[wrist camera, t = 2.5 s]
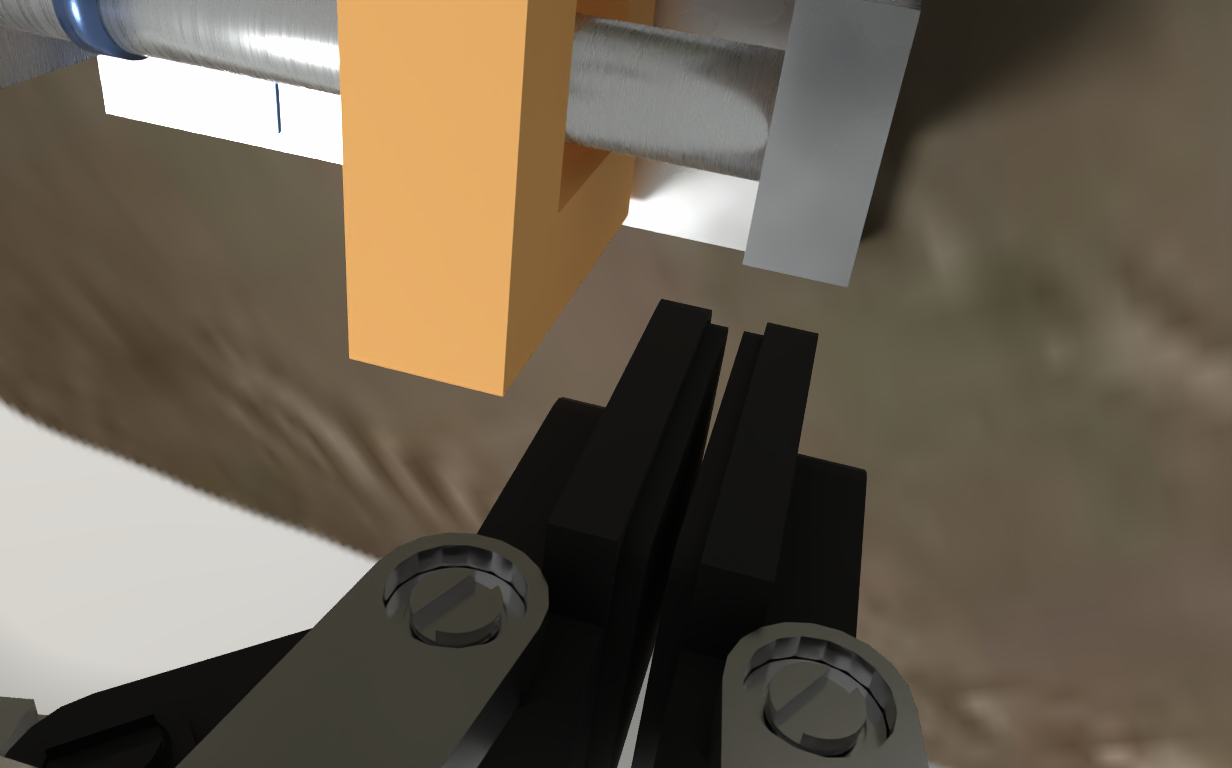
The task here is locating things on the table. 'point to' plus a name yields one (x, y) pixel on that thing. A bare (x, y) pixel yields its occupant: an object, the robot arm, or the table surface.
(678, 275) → the table surface
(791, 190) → the pipe stand
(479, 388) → the collar
